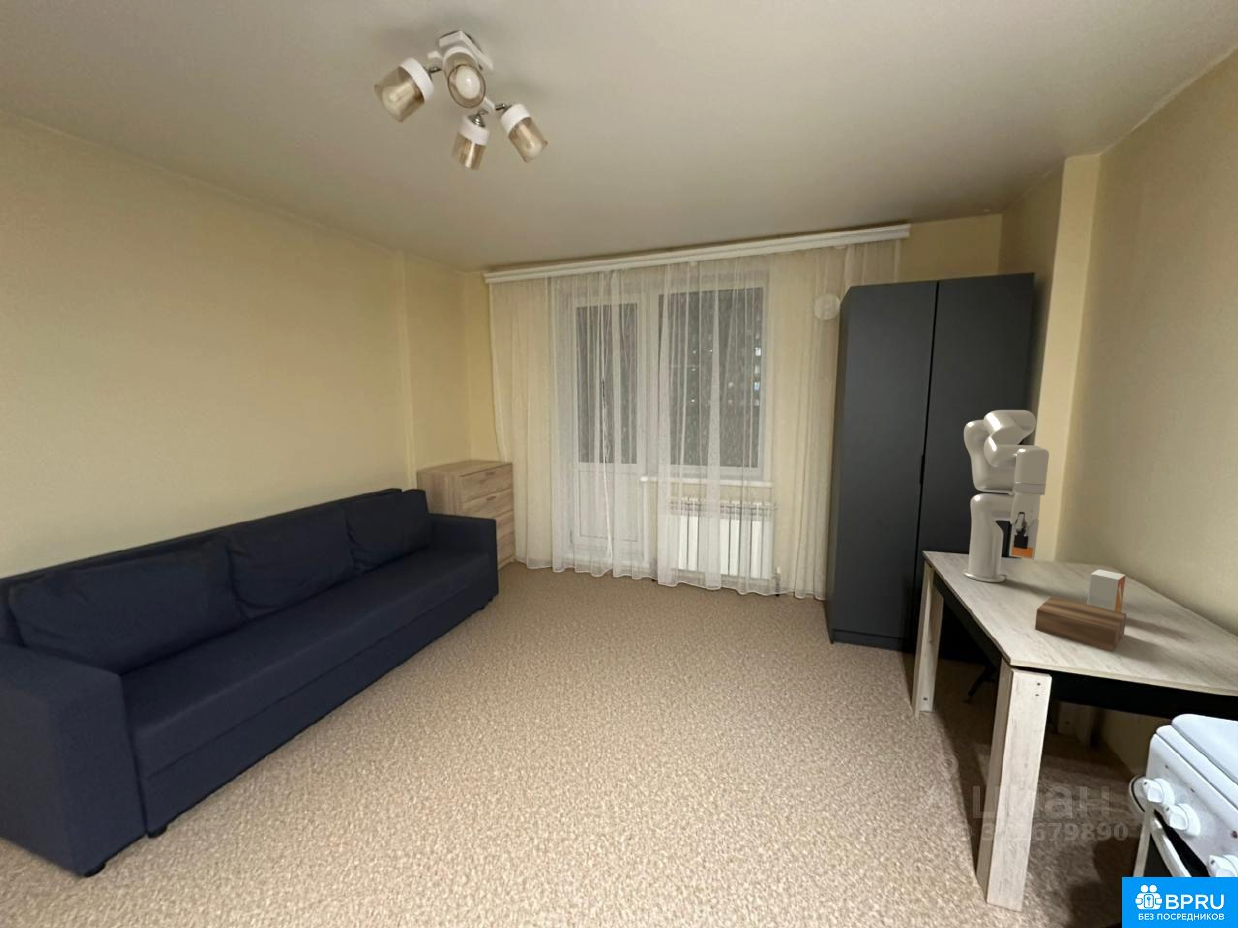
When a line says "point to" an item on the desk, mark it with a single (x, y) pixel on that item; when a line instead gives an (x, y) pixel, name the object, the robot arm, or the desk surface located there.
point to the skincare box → (1032, 539)
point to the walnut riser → (1081, 622)
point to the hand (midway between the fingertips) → (1023, 545)
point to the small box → (1106, 590)
